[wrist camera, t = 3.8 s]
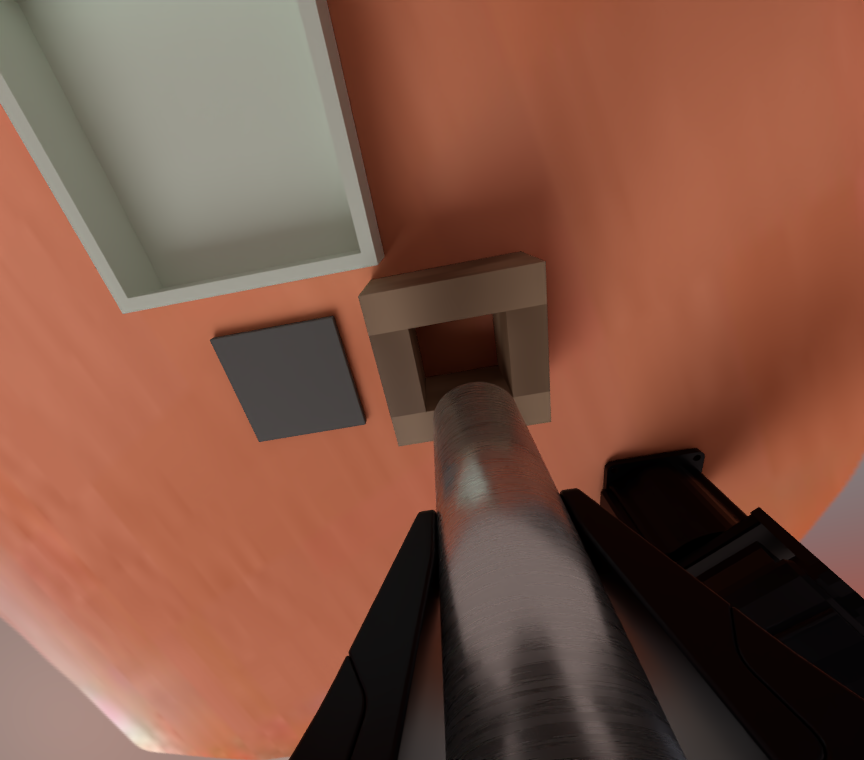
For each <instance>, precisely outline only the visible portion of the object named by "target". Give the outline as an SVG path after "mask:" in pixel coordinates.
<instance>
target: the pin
mask: <svg viewBox="0 0 864 760" xmlns="http://www.w3.org/2000/svg"><path fill="white" fill-rule="evenodd" d="M433 437H434V463H435V490H436V514H437V539H438V566H439V594H440V621H441V647H442V673H443V699H444V725H445V751H446V760H687V759H686V757H685V755H684V753H683V751H682V749H681V747H680V745H679V743H678V741H677V739H676V736H675V734H674V732H673V730H672V728H671V726H670V724H669V722H668V720H667V718H666V716H665V713H664V711H663V709H662V707H661V705H660V703H659V701H658V699H657V697H656V695H655V693H654V690H653V688H652V686H651V684H650V682H649V680H648V678H647V676H646V674H645V672H644V670H643V668H642V665H641V663H640V661H639V659H638V657H637V655H636V653H635V651H634V649H633V647H632V645H631V642H630V640H629V638H628V636H627V634H626V632H625V630H624V628H623V626H622V624H621V622H620V619H619V617H618V615H617V613H616V611H615V609H614V607H613V605H612V603H611V601H610V599H609V597H608V594H607V592H606V590H605V588H604V586H603V584H602V582H601V580H600V578H599V576H598V574H597V571H596V569H595V567H594V565H593V563H592V561H591V559H590V557H589V555H588V553H587V551H586V549H585V546H584V544H583V542H582V540H581V538H580V536H579V534H578V532H577V530H576V528H575V526H574V523H573V521H572V519H571V517H570V515H569V513H568V511H567V509H566V507H565V505H564V503H563V500H562V498H561V496H560V494H559V492H558V490H557V488H556V486H555V484H554V482H553V480H552V478H551V475H550V473H549V471H548V469H547V467H546V465H545V463H544V461H543V459H542V457H541V455H540V452H539V450H538V448H537V446H536V444H535V442H534V440H533V438H532V436H531V434H530V432H529V430H528V427H527V425H526V423H525V421H524V419H523V417H522V415H521V413H520V411H519V409H518V407H517V404H516V402H515V401H514V399H513V398H512V396H511V395H510V394H509V393H508V392H507V391H506V390H504V389H503V388H501V387H499V386H497V385H495V384H491V383H487V382H470V383H466V384H462V385H459V386H457V387H455V388H453V389H452V390H450V391H449V392H448V393H446V394H445V395H444V396H443V397H442V398H441V400H440V401H439V402H438V404H437V406H436V408H435V411H434V415H433Z"/></svg>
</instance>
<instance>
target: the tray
mask: <svg viewBox="0 0 864 760" xmlns="http://www.w3.org/2000/svg"><path fill="white" fill-rule="evenodd" d="M0 103H1V105H2V107H3V108H4V110H5V112H6V113H7V115H8V117H9V119H10V120H11V122H12V124H13V126H14V127H15V129H16V131H17V132H18V134H19V136H20V138H21V139H22V141H23V143H24V144H25V146H26V148H27V150H28V151H29V153H30V155H31V157H32V158H33V160H34V162H35V163H36V165H37V167H38V169H39V170H40V172H41V174H42V175H43V177H44V179H45V181H46V182H47V184H48V186H49V188H50V189H51V191H52V193H53V194H54V196H55V198H56V200H57V201H58V203H59V205H60V206H61V208H62V210H63V212H64V213H65V215H66V217H67V218H68V220H69V222H70V224H71V225H72V227H73V229H74V231H75V232H76V234H77V236H78V237H79V239H80V241H81V243H82V244H83V246H84V248H85V249H86V251H87V253H88V255H89V256H90V258H91V260H92V262H93V263H94V265H95V267H96V268H97V270H98V272H99V274H100V275H101V277H102V279H103V280H104V282H105V284H106V286H107V287H108V289H109V291H110V293H111V294H112V296H113V298H114V299H115V301H116V303H117V305H118V306H119V308H120V310H121V311H122V313H123V314H125V313H130V312H135V311H140V310H145V309H151V308H156V307H161V306H166V305H171V304H177V303H182V302H187V301H192V300H197V299H203V298H208V297H213V296H218V295H224V294H229V293H234V292H239V291H244V290H250V289H255V288H260V287H265V286H270V285H276V284H281V283H286V282H291V281H296V280H302V279H307V278H312V277H317V276H322V275H328V274H333V273H338V272H343V271H349V270H354V269H359V268H364V267H369V266H375V265H378V264H379V263H380V262H381V261H382V259H383V258H384V257H385V256H384V251H383V247H382V243H381V238H380V234H379V229H378V225H377V221H376V216H375V212H374V207H373V203H372V199H371V194H370V190H369V185H368V181H367V176H366V172H365V168H364V163H363V159H362V154H361V150H360V146H359V141H358V137H357V132H356V128H355V124H354V119H353V115H352V110H351V106H350V102H349V97H348V93H347V88H346V84H345V79H344V75H343V71H342V66H341V62H340V57H339V53H338V49H337V44H336V40H335V35H334V31H333V27H332V22H331V18H330V13H329V9H328V4H327V0H0Z"/></svg>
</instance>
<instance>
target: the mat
mask: <svg viewBox="0 0 864 760" xmlns="http://www.w3.org/2000/svg"><path fill="white" fill-rule="evenodd" d="M210 342H211V344H212V346H213V348H214V350H215V352H216V354H217V356H218V358H219V360H220V362H221V364H222V366H223V368H224V370H225V372H226V375H227V377H228V379H229V381H230V383H231V385H232V387H233V389H234V391H235V393H236V395H237V397H238V399H239V401H240V403H241V405H242V408H243V410H244V412H245V414H246V416H247V418H248V420H249V422H250V424H251V426H252V428H253V430H254V432H255V434H256V436H257V438H258V441H259V442H262V441H268V440H274V439H280V438H286V437H292V436H298V435H304V434H310V433H316V432H322V431H328V430H334V429H340V428H346V427H352V426H358V425H364V424H366V418H365V415H364V412H363V409H362V406H361V402H360V399H359V396H358V393H357V389H356V386H355V383H354V380H353V377H352V373H351V370H350V367H349V364H348V360H347V357H346V354H345V351H344V347H343V344H342V341H341V338H340V335H339V331H338V328H337V325H336V322H335V318H334V316H329V317H323V318H318V319H312V320H307V321H302V322H296V323H291V324H285V325H280V326H275V327H269V328H264V329H258V330H253V331H248V332H242V333H237V334H231V335H226V336H220V337H215V338H212V339H211V340H210Z"/></svg>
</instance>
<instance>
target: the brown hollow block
mask: <svg viewBox="0 0 864 760" xmlns="http://www.w3.org/2000/svg"><path fill="white" fill-rule="evenodd" d="M358 298H359V301H360V305H361V309H362V313H363V316H364V320H365V324H366V327H367V331H368V335H369V338H370V342H371V346H372V349H373V353H374V357H375V360H376V364H377V368H378V371H379V375H380V379H381V383H382V386H383V390H384V394H385V397H386V401H387V405H388V408H389V412H390V416H391V419H392V423H393V427H394V430H395V434H396V438H397V441H398V445H399V446H404V445H410V444H416V443H422V442H429V441H434V437H433V415H434V411H435V408H436V406H437V404H438V402H439V401H440V400H441V398H442V397H443V396H444V395H445V394H446V393H448V392H449V391H450V390H452V389H453V388H455V387H457V386H459V385H462V384H466V383H470V382H487V383H491V384H495V385H497V386H499V387H501V388H503V389H504V390H506V391H507V392H508V393H509V394H510V395H511V396H512V398H513V399H514V401H515V402H516V404H517V407H518V409H519V411H520V413H521V415H522V417H523V419H524V421H525V423H526V425H527V426H528V425H534V424H540V423H546V422H551V407H550V377H549V348H548V318H547V288H546V261H544V260H541V259H539V258H536V257H534V256H531V255H529V254H526V253H524V252H521V251H520V252H515V253H510V254H505V255H499V256H494V257H489V258H483V259H478V260H473V261H468V262H462V263H457V264H452V265H447V266H441V267H436V268H431V269H426V270H420V271H415V272H410V273H404V274H399V275H394V276H389V277H383V278H378V279H373V280H370V282H369V283H368V284H367V285H366V287H365V288H364V289H363V291H362V292H361V293H360V295H359V296H358ZM488 314H493V324H494V333H495V343H496V352H497V362H498V365H496V366H490V367H485V368H479V369H473V370H467V371H461V372H456V373H450V374H444V375H438V376H432V377H425V372H424V368H423V363H422V358H421V353H420V348H419V344H418V339H417V334H416V329H415V328H416V327H421V326H427V325H432V324H438V323H443V322H449V321H455V320H460V319H466V318H471V317H477V316H482V315H488Z"/></svg>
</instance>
